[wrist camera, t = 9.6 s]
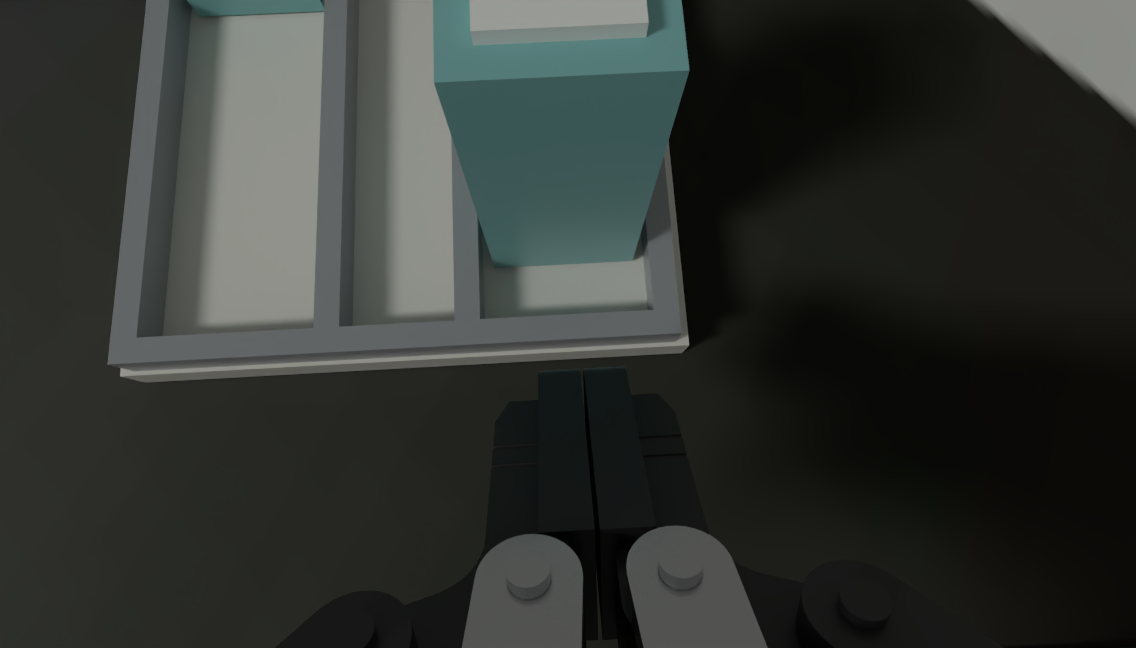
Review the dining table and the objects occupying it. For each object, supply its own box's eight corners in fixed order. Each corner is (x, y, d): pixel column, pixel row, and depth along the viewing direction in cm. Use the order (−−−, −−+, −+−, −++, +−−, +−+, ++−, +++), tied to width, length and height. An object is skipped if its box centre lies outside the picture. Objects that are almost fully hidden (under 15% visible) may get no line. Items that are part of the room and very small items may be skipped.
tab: (632, 260, 17) (693, 55, 9) (494, 268, 17) (429, 69, 9) (621, 136, 18) (669, -156, 10) (490, 143, 18) (428, -145, 10)
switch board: (682, 352, 17) (697, 335, 15) (145, 382, 17) (88, 369, 15) (636, -113, 21) (644, -178, 19) (189, -94, 21) (148, -157, 19)
